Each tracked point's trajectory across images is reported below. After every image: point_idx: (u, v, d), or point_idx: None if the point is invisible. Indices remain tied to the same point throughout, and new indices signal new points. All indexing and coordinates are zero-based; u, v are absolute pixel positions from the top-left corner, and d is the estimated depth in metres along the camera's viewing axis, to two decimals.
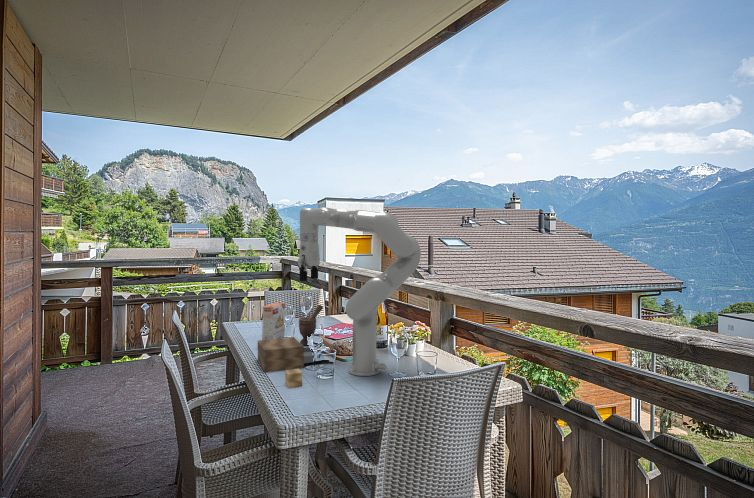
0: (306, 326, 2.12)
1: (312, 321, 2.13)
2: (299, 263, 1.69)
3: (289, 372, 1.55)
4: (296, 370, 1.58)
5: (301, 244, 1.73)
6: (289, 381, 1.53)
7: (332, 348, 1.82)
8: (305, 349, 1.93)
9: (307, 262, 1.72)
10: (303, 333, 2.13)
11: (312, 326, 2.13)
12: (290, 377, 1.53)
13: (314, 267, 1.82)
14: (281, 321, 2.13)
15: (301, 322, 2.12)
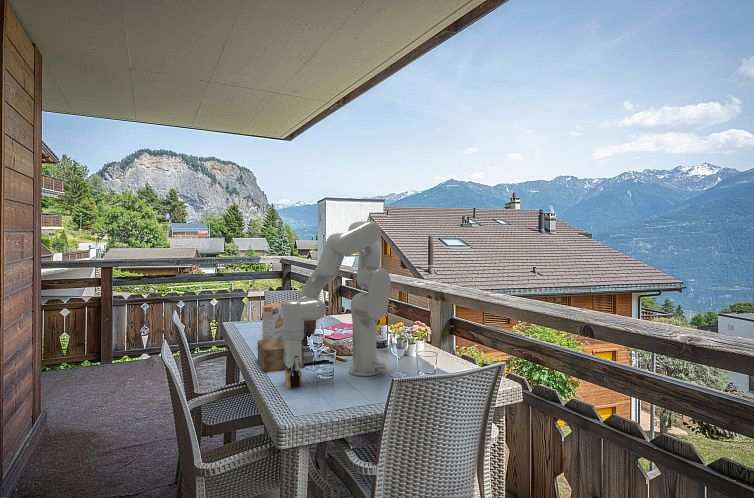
0: (306, 326, 2.12)
1: (312, 321, 2.13)
2: None
3: (289, 372, 1.55)
4: None
5: None
6: (289, 381, 1.53)
7: (332, 348, 1.82)
8: (305, 349, 1.93)
9: None
10: None
11: (312, 326, 2.13)
12: (290, 377, 1.53)
13: None
14: (281, 321, 2.13)
15: None
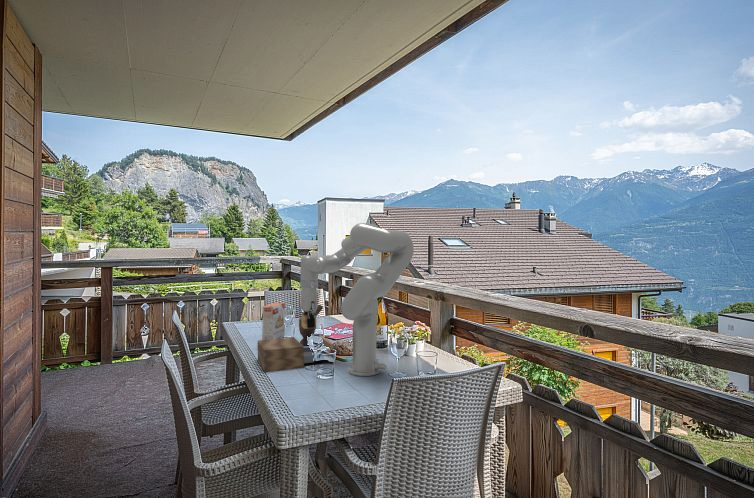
0: None
1: None
2: None
3: (305, 316, 1.84)
4: None
5: None
6: (305, 323, 1.82)
7: (332, 348, 1.82)
8: (305, 349, 1.93)
9: None
10: (303, 333, 2.13)
11: None
12: (306, 319, 1.82)
13: None
14: (281, 321, 2.13)
15: None
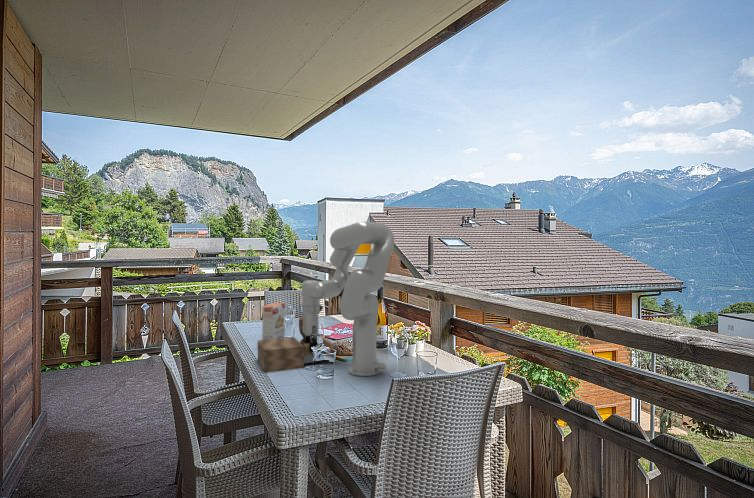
0: None
1: None
2: None
3: (307, 344, 1.86)
4: None
5: None
6: (307, 352, 1.84)
7: (332, 348, 1.82)
8: None
9: None
10: (303, 333, 2.13)
11: None
12: (308, 348, 1.85)
13: None
14: (281, 321, 2.13)
15: (301, 322, 2.12)
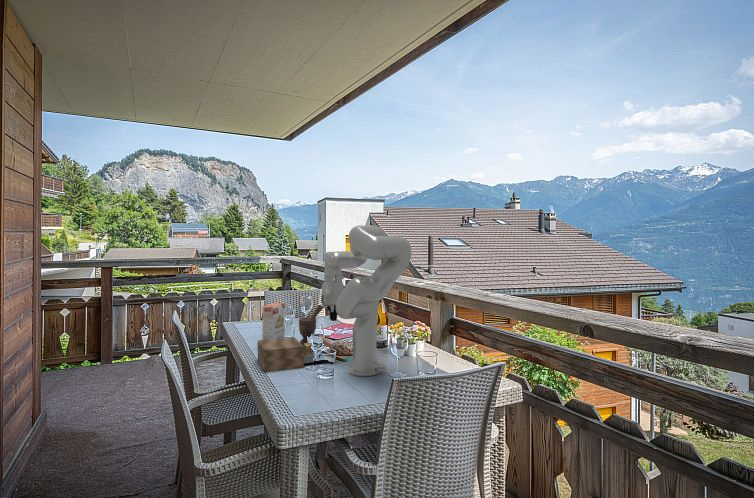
0: (306, 326, 2.12)
1: (312, 321, 2.13)
2: None
3: (307, 344, 1.86)
4: None
5: None
6: (307, 352, 1.84)
7: (332, 348, 1.82)
8: None
9: None
10: (303, 333, 2.13)
11: (312, 326, 2.13)
12: (308, 348, 1.85)
13: None
14: (281, 321, 2.13)
15: (301, 322, 2.12)
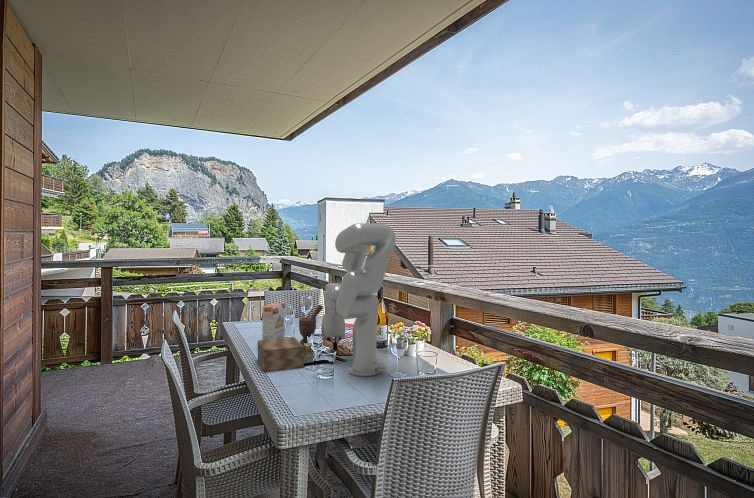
0: (306, 326, 2.12)
1: (312, 321, 2.13)
2: None
3: (307, 344, 1.86)
4: None
5: None
6: (307, 352, 1.84)
7: (332, 348, 1.82)
8: None
9: None
10: (303, 333, 2.13)
11: (312, 326, 2.13)
12: (308, 348, 1.85)
13: None
14: (281, 321, 2.13)
15: (301, 322, 2.12)
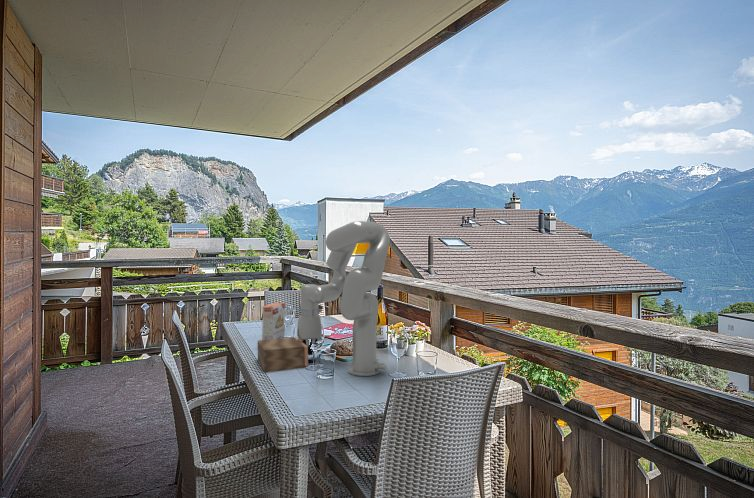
0: None
1: None
2: None
3: None
4: None
5: None
6: None
7: (306, 351, 1.78)
8: None
9: None
10: None
11: None
12: None
13: None
14: (281, 321, 2.13)
15: None
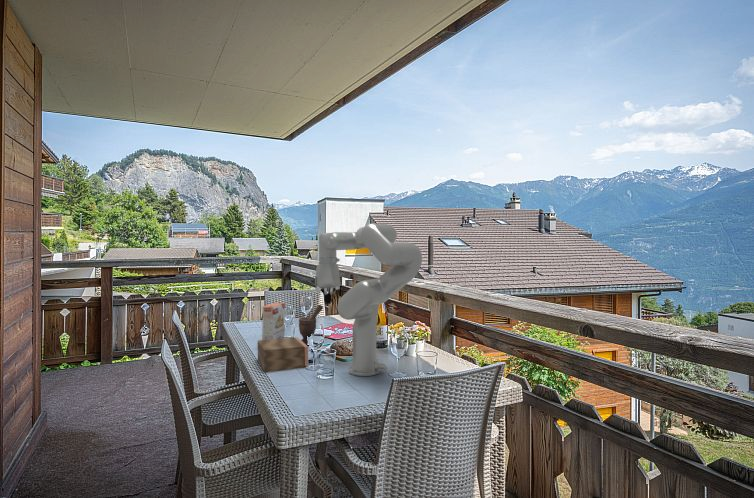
0: (306, 326, 2.12)
1: (312, 321, 2.13)
2: None
3: None
4: None
5: None
6: None
7: (307, 351, 1.78)
8: None
9: None
10: (303, 333, 2.13)
11: (312, 326, 2.13)
12: None
13: None
14: (281, 321, 2.13)
15: (301, 322, 2.12)
